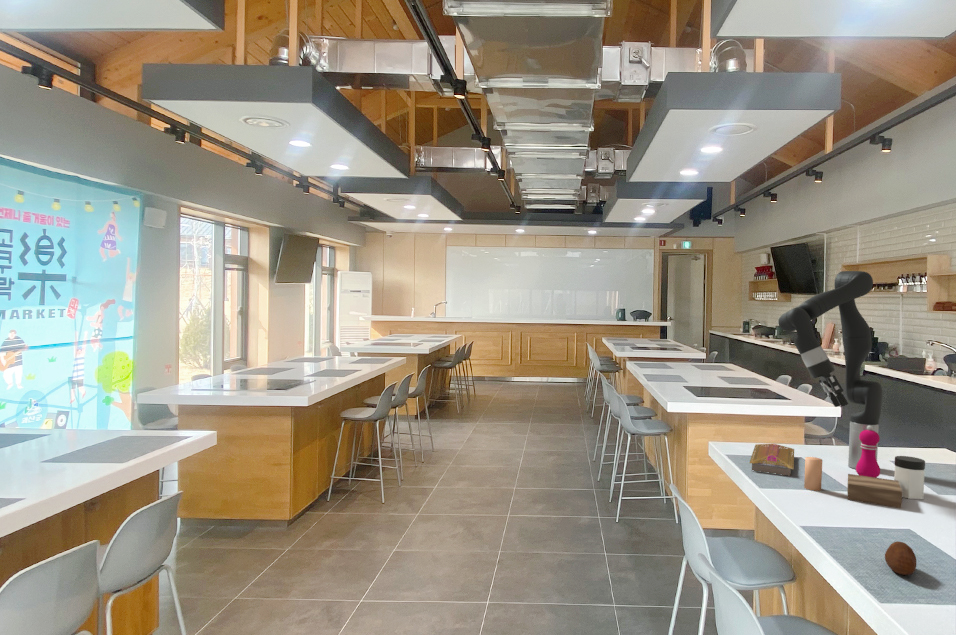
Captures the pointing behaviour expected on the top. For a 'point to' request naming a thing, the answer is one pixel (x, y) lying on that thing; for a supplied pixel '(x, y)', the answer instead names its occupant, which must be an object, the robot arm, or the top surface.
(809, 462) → the post
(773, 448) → the slab with pink ridge
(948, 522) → the top surface
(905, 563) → the potato
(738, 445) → the top surface
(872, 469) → the pepper mill
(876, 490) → the base block
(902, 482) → the jar
